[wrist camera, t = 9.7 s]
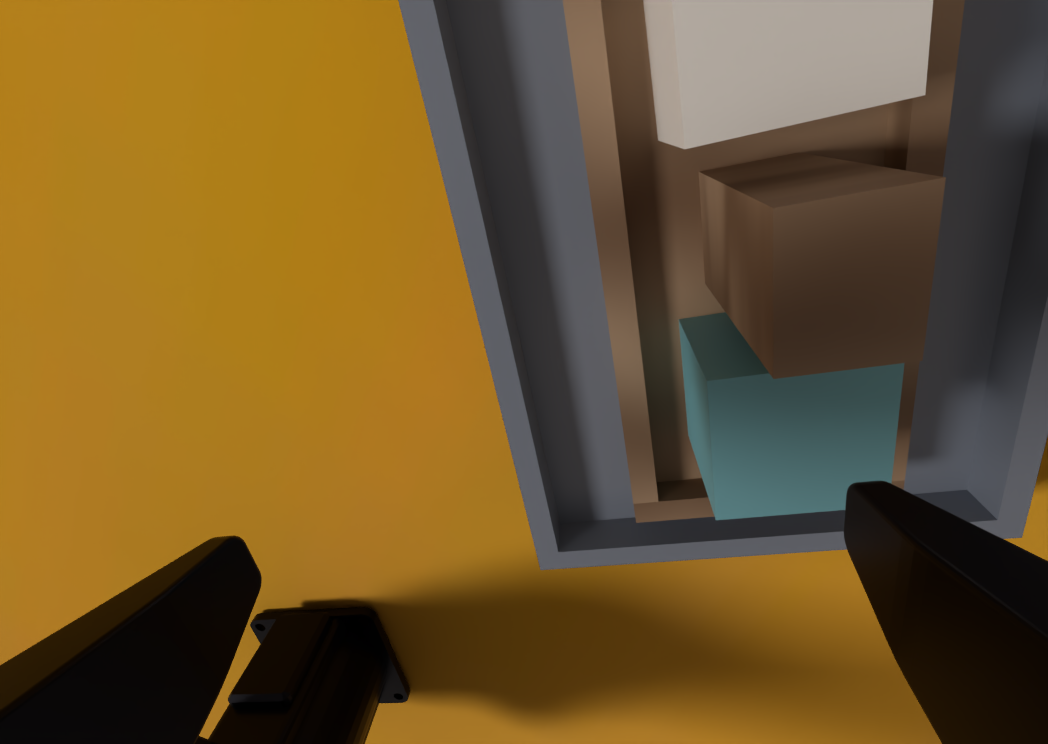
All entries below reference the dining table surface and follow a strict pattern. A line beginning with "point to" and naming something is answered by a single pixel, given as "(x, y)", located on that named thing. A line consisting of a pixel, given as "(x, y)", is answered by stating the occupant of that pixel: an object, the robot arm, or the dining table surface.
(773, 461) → the teal block
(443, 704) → the dining table surface
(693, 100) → the cream block
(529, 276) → the tray
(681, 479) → the caddy
